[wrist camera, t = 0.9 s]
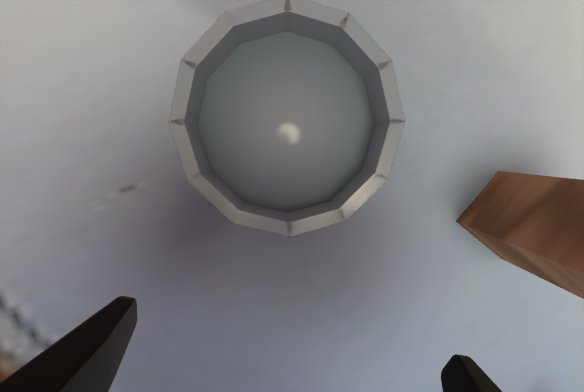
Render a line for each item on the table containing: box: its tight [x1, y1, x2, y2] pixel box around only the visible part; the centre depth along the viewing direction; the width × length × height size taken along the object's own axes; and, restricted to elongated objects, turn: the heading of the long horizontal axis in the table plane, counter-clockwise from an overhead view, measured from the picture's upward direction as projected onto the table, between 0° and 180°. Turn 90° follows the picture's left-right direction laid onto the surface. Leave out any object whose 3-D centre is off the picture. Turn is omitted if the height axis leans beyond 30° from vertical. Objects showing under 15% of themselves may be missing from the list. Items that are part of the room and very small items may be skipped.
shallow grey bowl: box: [168, 0, 405, 237], centre depth 20 cm, size 13×13×4 cm
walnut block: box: [456, 171, 584, 299], centre depth 18 cm, size 4×4×11 cm
